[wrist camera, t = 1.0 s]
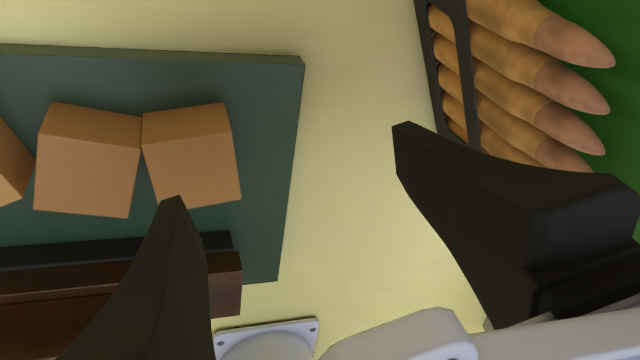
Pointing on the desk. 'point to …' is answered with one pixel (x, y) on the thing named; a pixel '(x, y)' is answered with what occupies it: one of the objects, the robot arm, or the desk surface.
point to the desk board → (135, 99)
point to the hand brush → (87, 289)
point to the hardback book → (611, 84)
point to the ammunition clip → (512, 80)
